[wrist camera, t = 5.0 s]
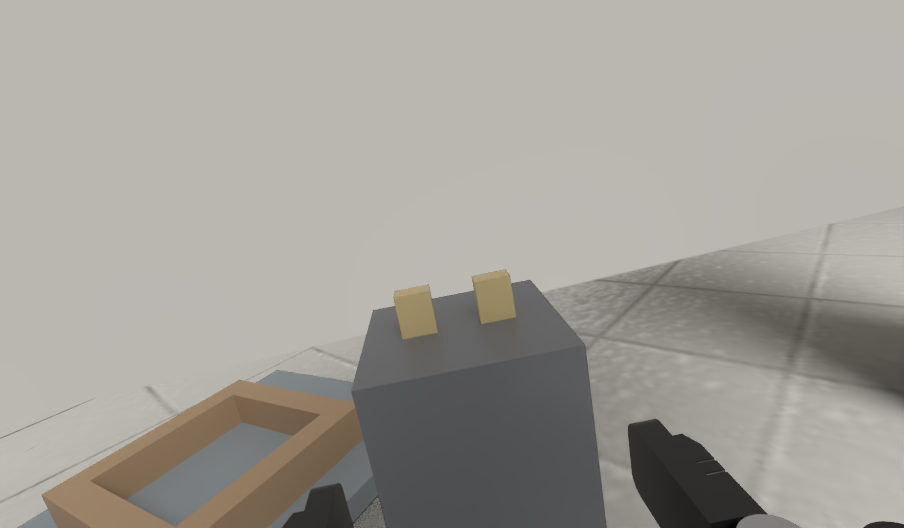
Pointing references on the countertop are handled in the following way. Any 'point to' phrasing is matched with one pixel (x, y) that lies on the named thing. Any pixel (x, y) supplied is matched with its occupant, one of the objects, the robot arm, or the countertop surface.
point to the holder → (226, 462)
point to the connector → (479, 411)
